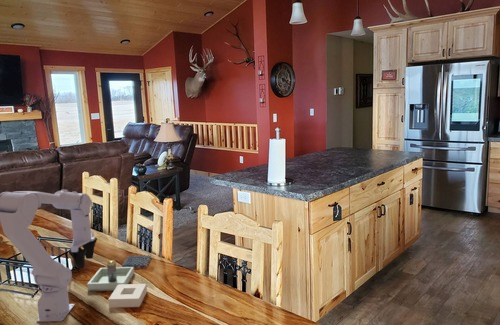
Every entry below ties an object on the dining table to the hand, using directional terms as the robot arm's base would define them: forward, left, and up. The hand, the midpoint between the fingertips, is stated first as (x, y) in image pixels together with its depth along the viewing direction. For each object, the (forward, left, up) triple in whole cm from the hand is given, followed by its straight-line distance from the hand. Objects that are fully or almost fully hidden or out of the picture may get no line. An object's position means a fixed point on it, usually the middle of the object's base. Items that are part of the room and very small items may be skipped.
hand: (85, 262), depth 138 cm
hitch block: (-7, -17, -10) cm, 21 cm away
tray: (+6, -7, -10) cm, 14 cm away
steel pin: (+6, -7, -10) cm, 13 cm away
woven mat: (+22, -12, -11) cm, 27 cm away
